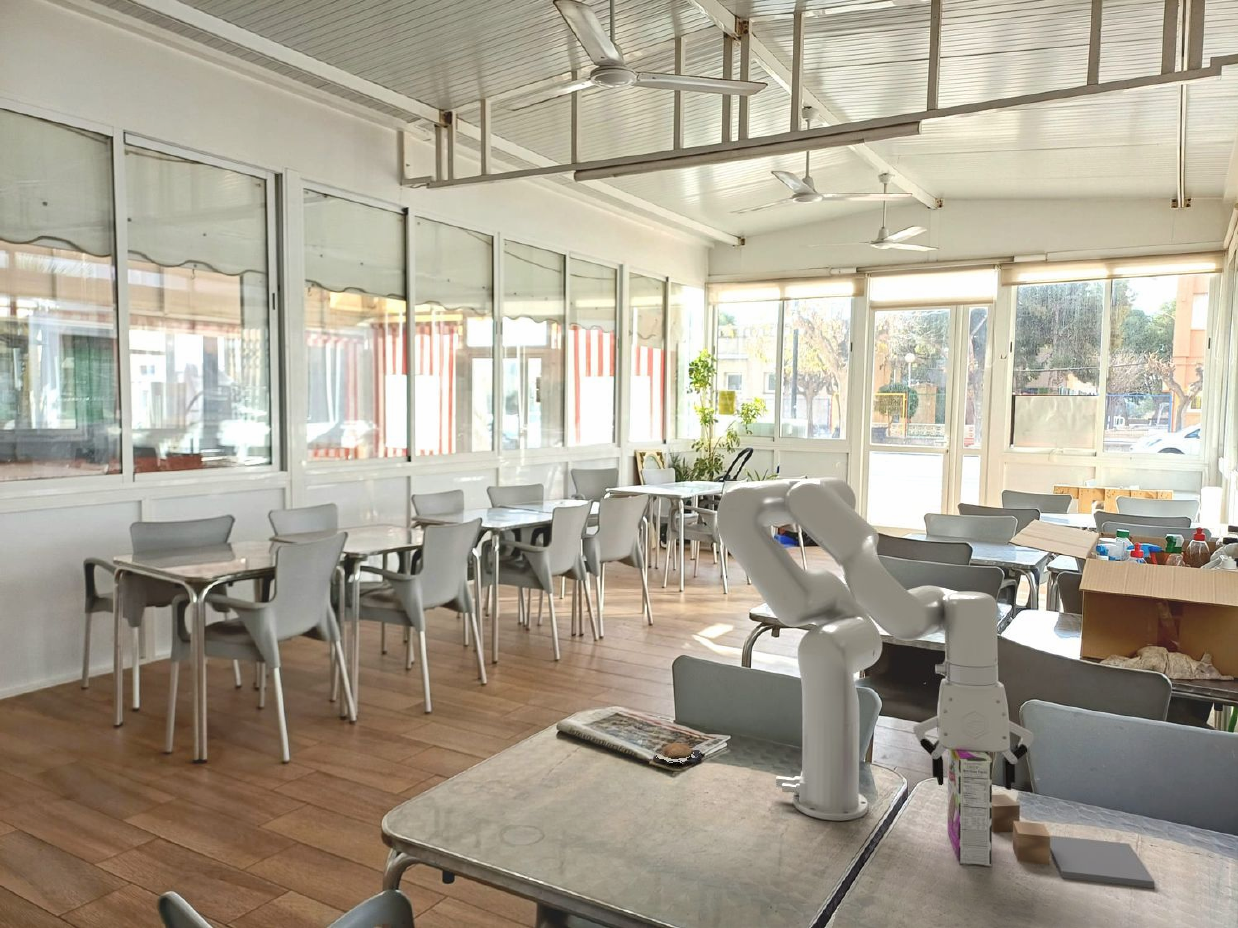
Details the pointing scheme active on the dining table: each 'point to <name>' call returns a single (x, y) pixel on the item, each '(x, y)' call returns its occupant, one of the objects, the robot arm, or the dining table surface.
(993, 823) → the dark oak block
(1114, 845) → the charcoal mat
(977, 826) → the candy bar box
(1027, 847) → the light brown wooden cube
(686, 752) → the bread roll
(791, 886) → the dining table surface
